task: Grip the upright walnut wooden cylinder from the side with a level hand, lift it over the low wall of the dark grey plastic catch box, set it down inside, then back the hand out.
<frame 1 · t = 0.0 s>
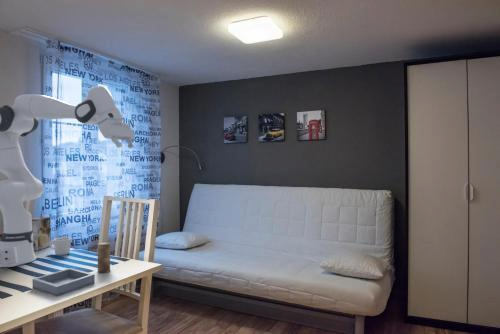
hand: (125, 147, 153), 54 cm above the table, tool tilted 30°, fingers open, 8 cm apart
walnut cylinder: (104, 271, 152), on the table
cup: (59, 254, 178), on the table
catch box: (64, 285, 135), on the table
coffee box: (39, 248, 189), on the table
supplement box: (33, 245, 195), on the table
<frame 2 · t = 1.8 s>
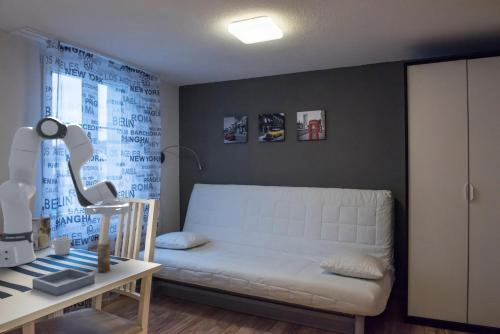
hand: (106, 211, 163), 24 cm above the table, tool horizontal, fingers open, 8 cm apart
nothing on the table moved.
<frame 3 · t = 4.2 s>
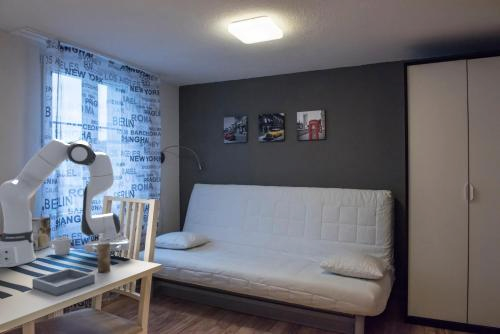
hand: (106, 250, 162), 6 cm above the table, tool horizontal, fingers open, 8 cm apart
nothing on the table moved.
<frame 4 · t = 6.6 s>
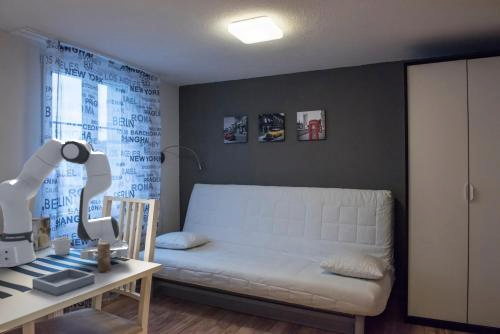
hand: (103, 256, 151), 7 cm above the table, tool horizontal, fingers closed on walnut cylinder, 5 cm apart
walnut cylinder: (104, 271, 152), on the table, touching gripper
everything else where it was.
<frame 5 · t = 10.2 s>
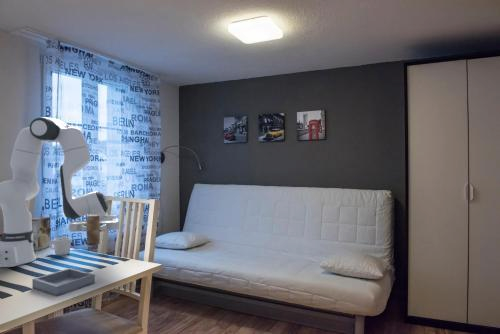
hand: (93, 229, 146), 20 cm above the table, tool horizontal, fingers closed on walnut cylinder, 5 cm apart
walnut cylinder: (93, 244, 147), point 13 cm above the table, touching gripper
everything else where it was.
when the fingers open (9 cm above the table, at t = 13.7 s): walnut cylinder drops 2 cm, resting on catch box.
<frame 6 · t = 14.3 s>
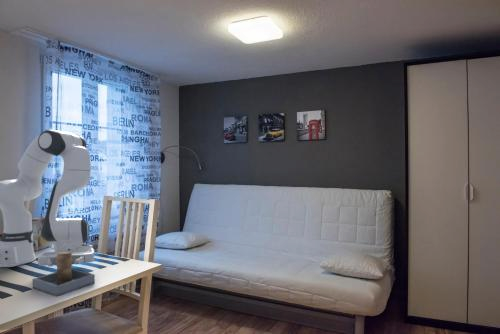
hand: (63, 263, 134), 9 cm above the table, tool horizontal, fingers open, 8 cm apart
walnut cylinder: (64, 283, 135), point 1 cm above the table, touching catch box
everything else where it was.
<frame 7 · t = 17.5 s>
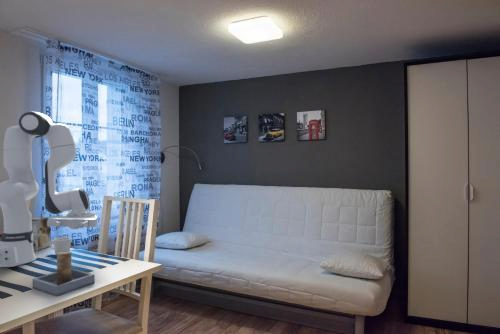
hand: (70, 225, 150), 20 cm above the table, tool horizontal, fingers open, 8 cm apart
nothing on the table moved.
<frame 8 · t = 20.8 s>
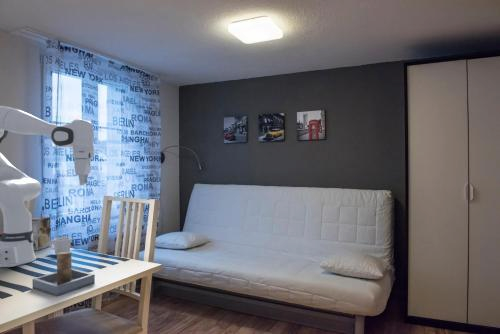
hand: (83, 184, 162), 37 cm above the table, tool pointing down, fingers open, 8 cm apart
nothing on the table moved.
at the end: walnut cylinder 0.1 cm from the catch box (horizontally); walnut cylinder tilted 0°; the gripper is holding nothing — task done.
